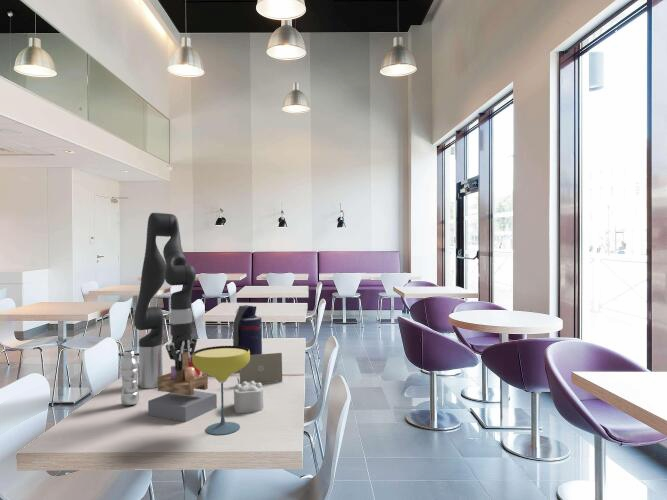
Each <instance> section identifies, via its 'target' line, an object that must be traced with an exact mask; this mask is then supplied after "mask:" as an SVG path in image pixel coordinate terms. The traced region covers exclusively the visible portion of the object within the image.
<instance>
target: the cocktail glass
mask: <svg viewBox="0 0 667 500" xmlns="http://www.w3.org/2000/svg"><path fill="white" fill-rule="evenodd" d="M249 361H250V351H249V349H248V348H246V347H241V346H233V345H219V346H218V345H217V346H209V347H208V346H207V347H204V348H199V349H197V350H194V353H193V356H192V362H193V365H194V367H195V368H197V369H198V370H199V371H201V372H202V373H203V374H205V375H208V376H212V377H213V378H215V379H216V381H217V382H218V383H220V391H221V392H220V395H221V396H220V397H221V399H220V400H221V404H220V405H221V408H220V409H221V415H220V417H221V418H220V422H217V423H213V424H210V425H208V426H207V427H206V428H205V432H206V433H207V434H209V435H213V436H225V435H230V434H233V433H236V432H238V431H239V430H240V428H241V426H240V424H239V423H236V422H234V421H233V422H232V421H225V420H226V419H225V410H224V409H225V407H224V383H225V382H227V380H228V379H229V377H230V376H232V375H233V374H235V373H237V372H238V371H239V372H240V370H241V369H242V368H244V367H245V366H246V365H247V364H248V363H249Z"/></svg>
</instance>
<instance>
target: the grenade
mask: <svg viewBox="0 0 667 500" xmlns="http://www.w3.org/2000/svg"><path fill="white" fill-rule="evenodd" d="M256 313H257V306H255V305H247V304H246V305H239V306H238V308H237V309H236V311H235V318H234V320H233V323H232V325H233V326H232V328H233V329H232V331H233V332H232V333H233V334H232V337H233V339H232V344H233V345H232V346H241V347H246V348H248V349H249V351H250V355H257V354H263V345H262V344H263V341H262V340H263V339H262V338H263V336H262V335H263V334H262V331H263V330H262V317H259V316H257V315H256Z"/></svg>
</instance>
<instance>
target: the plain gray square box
mask: <svg viewBox="0 0 667 500" xmlns="http://www.w3.org/2000/svg"><path fill="white" fill-rule="evenodd" d="M147 403H148V405H147V409H148V416H152V417H156V418H162V419H168V420H173V421H179V422H185V423H187V422H188V421H191V420H193V419H195V418H197V417H200V416H202V415H204V414H206V413H209V412H211V411H213V410H215V409H217V407H218V405H217V403H218V401H217V393H214V392H212V393H211V392H207V391H201V390H194V395H191V396H189V395H183V394H176V393H170V392H167V393H166V394H163V395H160V396H158V397H155V398H152V399H150V400H148V401H147Z"/></svg>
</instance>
